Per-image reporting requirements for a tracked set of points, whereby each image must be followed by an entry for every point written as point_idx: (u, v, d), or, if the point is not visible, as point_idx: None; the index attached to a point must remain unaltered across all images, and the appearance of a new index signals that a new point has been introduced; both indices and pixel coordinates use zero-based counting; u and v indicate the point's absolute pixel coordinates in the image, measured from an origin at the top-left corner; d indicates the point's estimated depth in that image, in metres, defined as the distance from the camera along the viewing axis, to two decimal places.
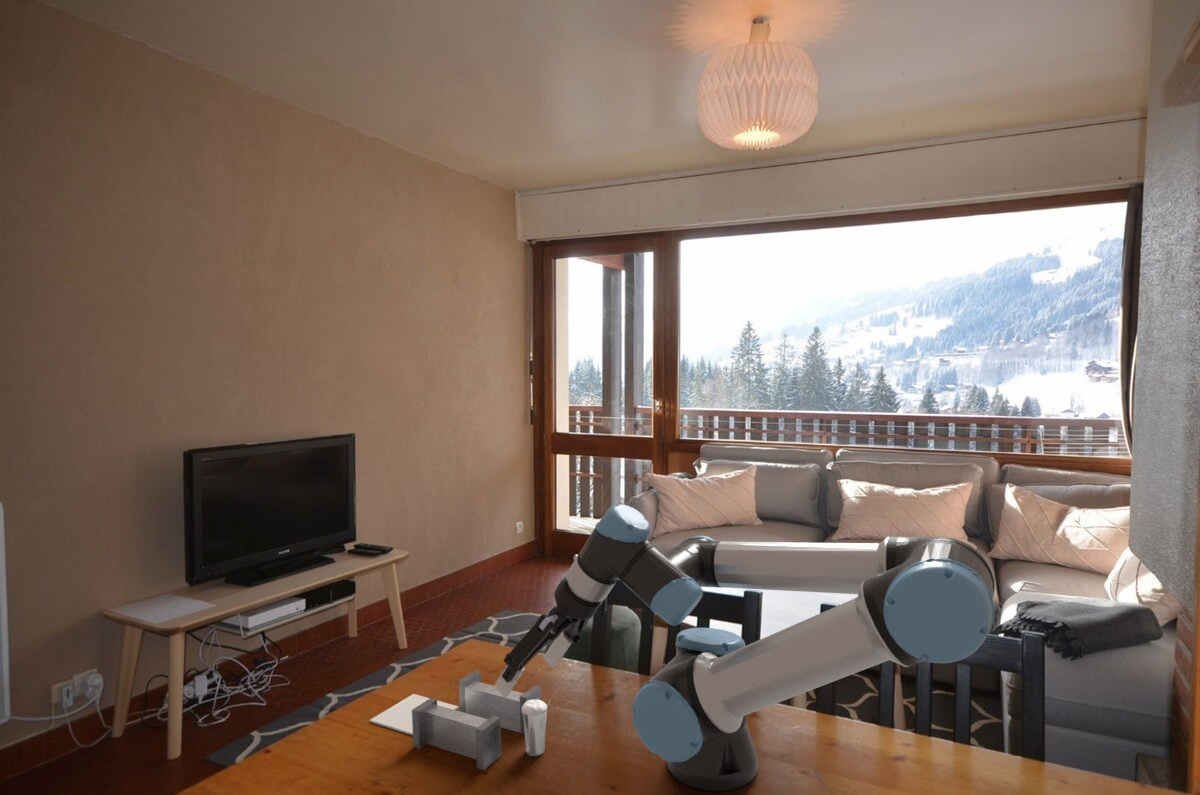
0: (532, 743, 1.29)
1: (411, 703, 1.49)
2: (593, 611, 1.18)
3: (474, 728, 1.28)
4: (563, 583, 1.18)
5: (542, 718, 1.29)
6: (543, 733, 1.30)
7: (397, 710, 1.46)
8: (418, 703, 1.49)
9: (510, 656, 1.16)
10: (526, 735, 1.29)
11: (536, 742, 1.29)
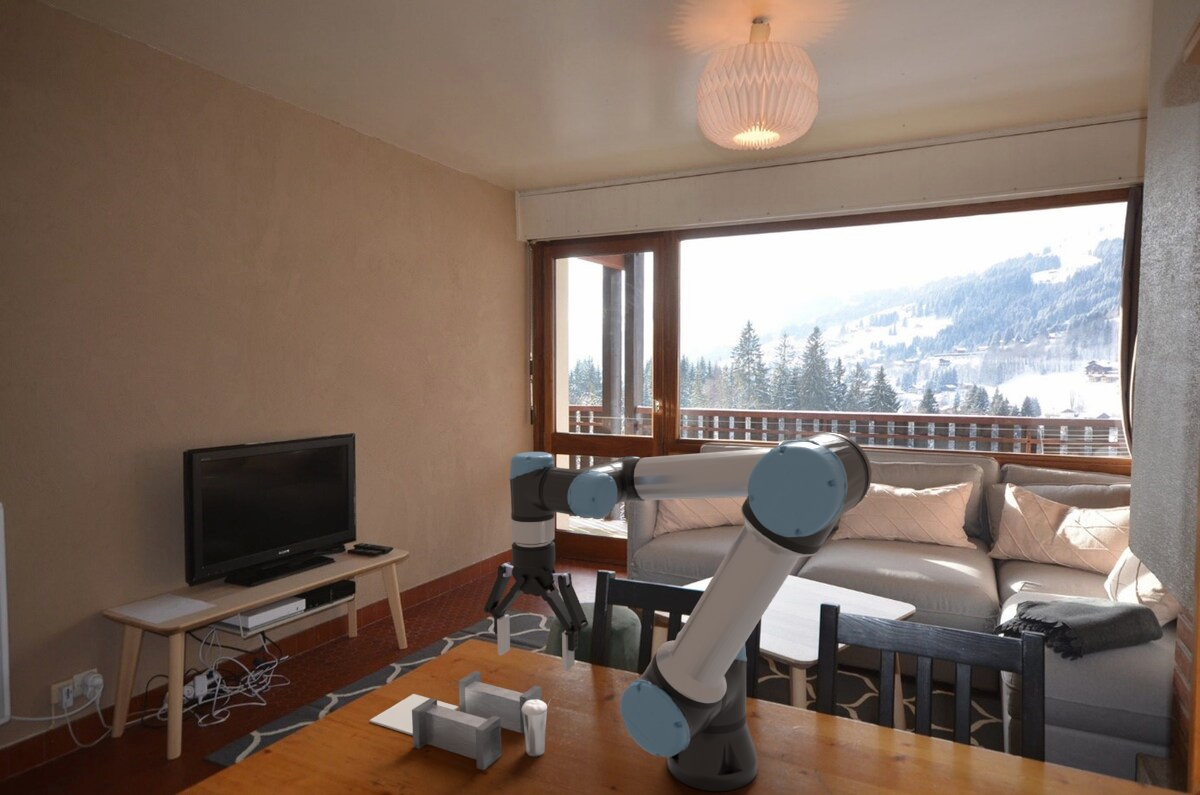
0: (532, 743, 1.29)
1: (411, 703, 1.49)
2: (518, 556, 1.25)
3: (474, 728, 1.28)
4: None
5: (542, 718, 1.29)
6: (543, 733, 1.30)
7: (397, 710, 1.46)
8: (418, 703, 1.49)
9: None
10: (526, 735, 1.29)
11: (536, 742, 1.29)
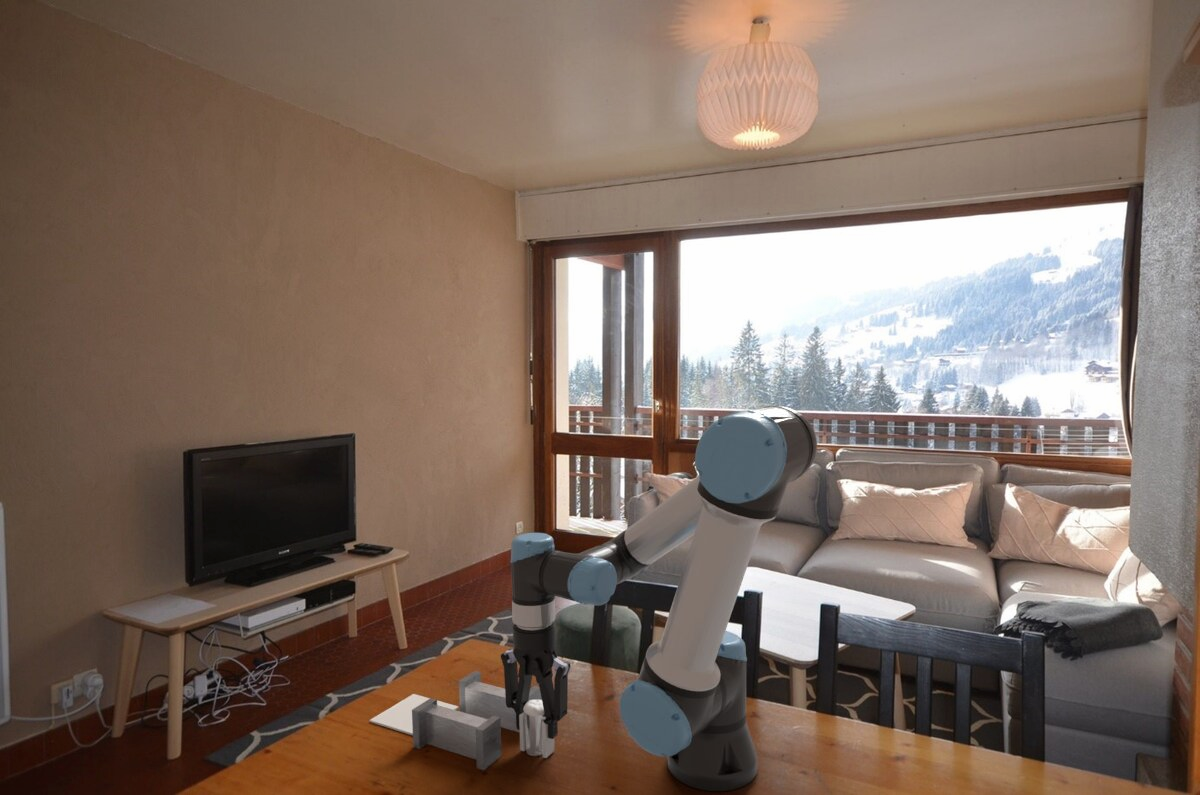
0: (533, 743, 1.29)
1: (411, 703, 1.49)
2: (519, 638, 1.26)
3: (474, 728, 1.28)
4: None
5: (544, 719, 1.29)
6: None
7: (397, 710, 1.46)
8: (418, 703, 1.49)
9: (512, 695, 1.33)
10: (527, 735, 1.29)
11: (537, 742, 1.29)
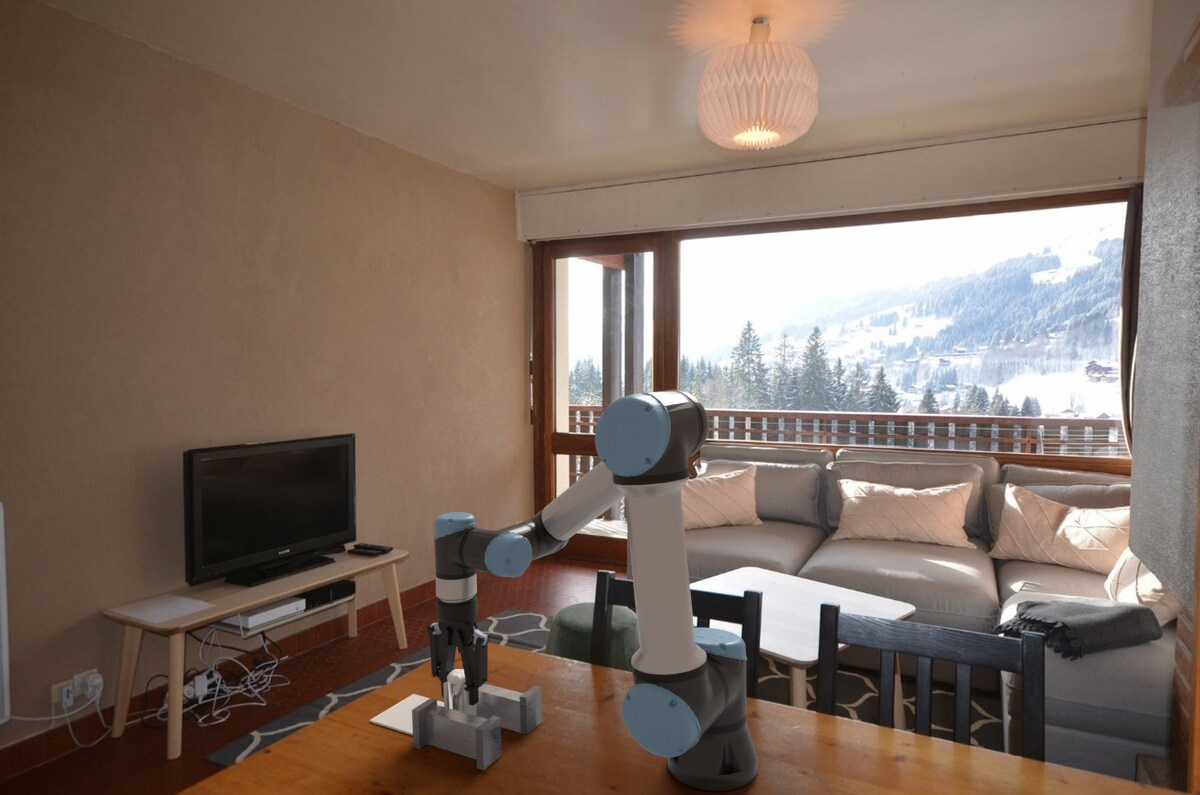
0: (455, 709, 1.37)
1: (411, 703, 1.49)
2: (441, 610, 1.34)
3: (474, 728, 1.28)
4: None
5: (465, 686, 1.37)
6: None
7: (397, 710, 1.46)
8: (418, 703, 1.49)
9: (438, 665, 1.42)
10: (450, 702, 1.37)
11: (459, 709, 1.37)
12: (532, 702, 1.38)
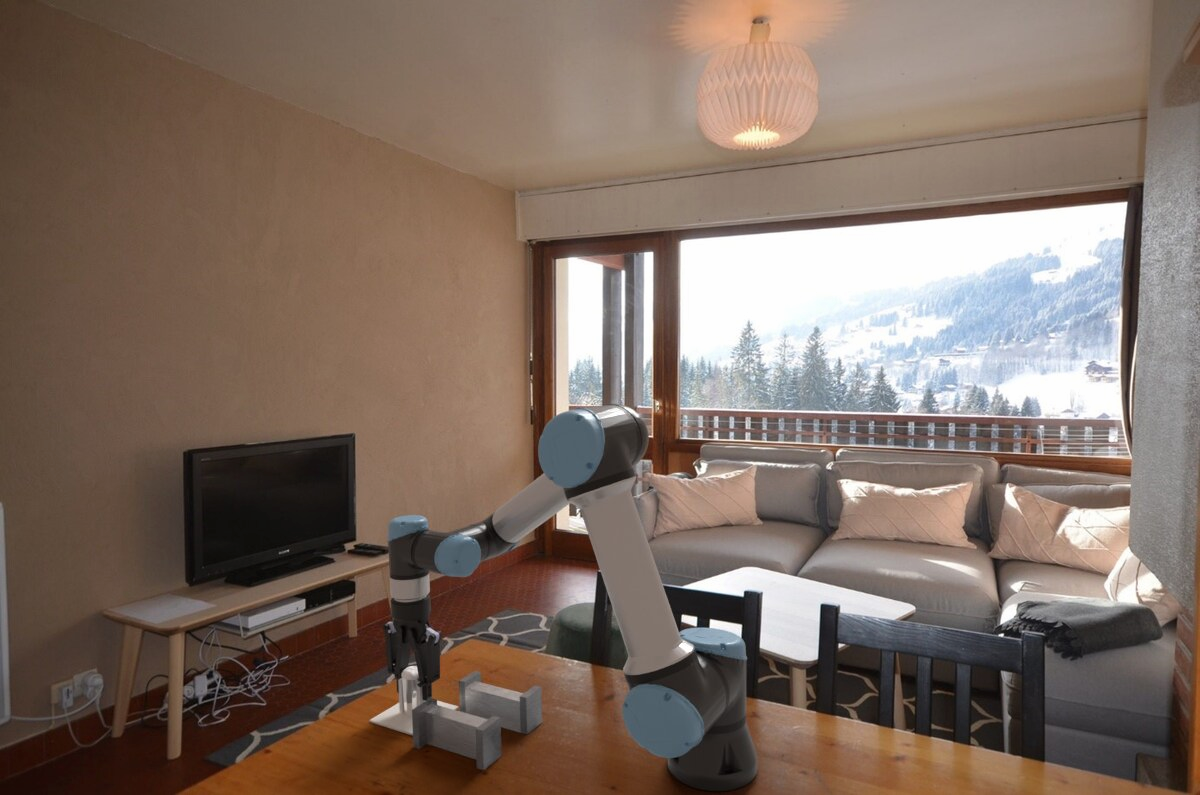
0: (409, 704, 1.43)
1: None
2: (394, 610, 1.40)
3: (474, 728, 1.28)
4: None
5: (419, 682, 1.42)
6: None
7: (397, 710, 1.46)
8: None
9: (394, 662, 1.47)
10: (404, 697, 1.43)
11: (413, 704, 1.43)
12: (532, 702, 1.38)
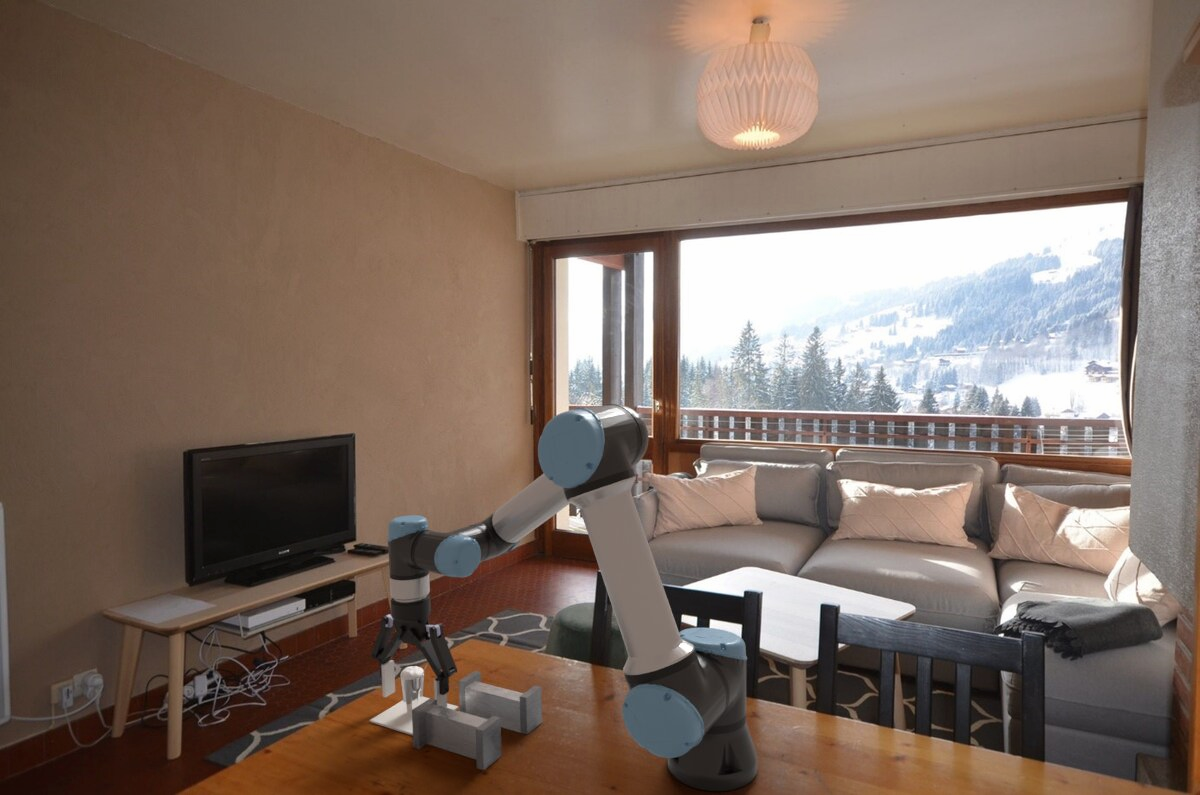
0: (409, 705, 1.43)
1: None
2: (394, 610, 1.40)
3: (474, 728, 1.28)
4: None
5: (418, 682, 1.43)
6: (419, 696, 1.43)
7: (397, 710, 1.46)
8: None
9: None
10: (404, 698, 1.43)
11: (413, 704, 1.43)
12: (532, 702, 1.38)
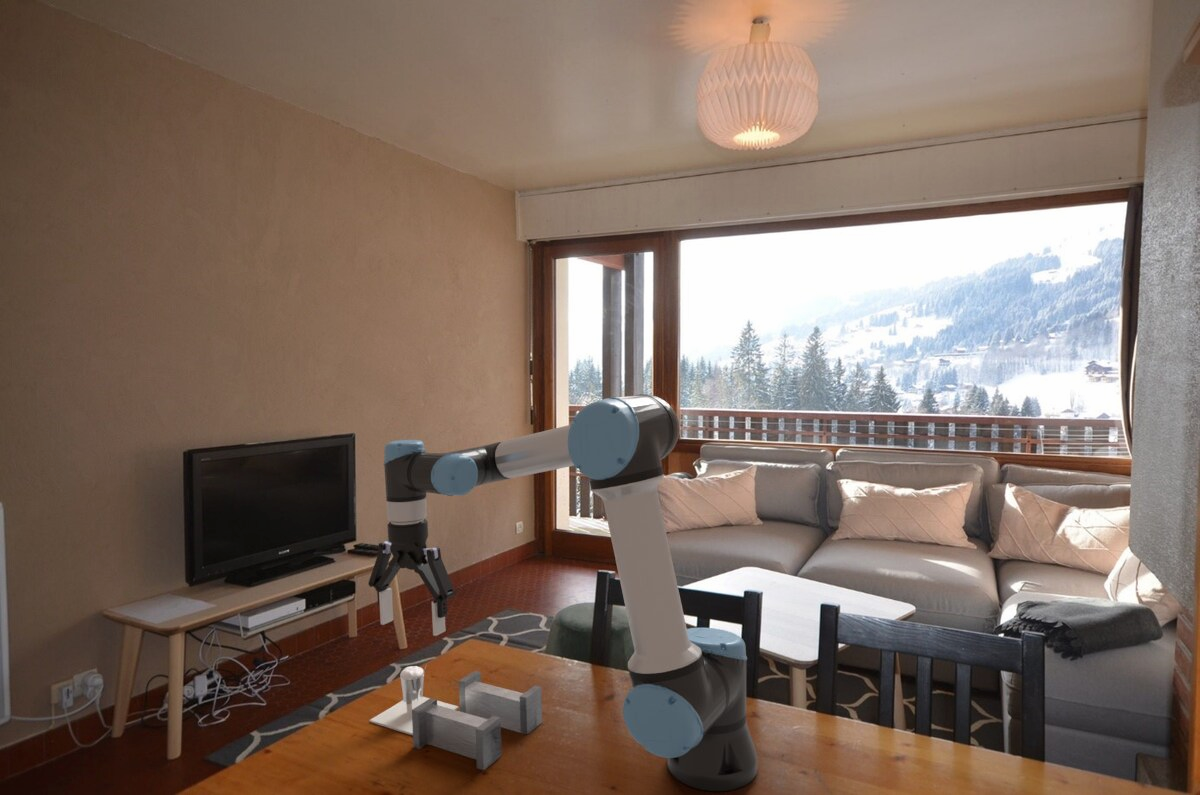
0: (409, 705, 1.43)
1: None
2: (391, 533, 1.39)
3: (474, 728, 1.28)
4: None
5: (418, 682, 1.43)
6: (419, 696, 1.43)
7: (397, 710, 1.46)
8: None
9: None
10: (404, 698, 1.43)
11: (413, 704, 1.43)
12: (532, 702, 1.38)
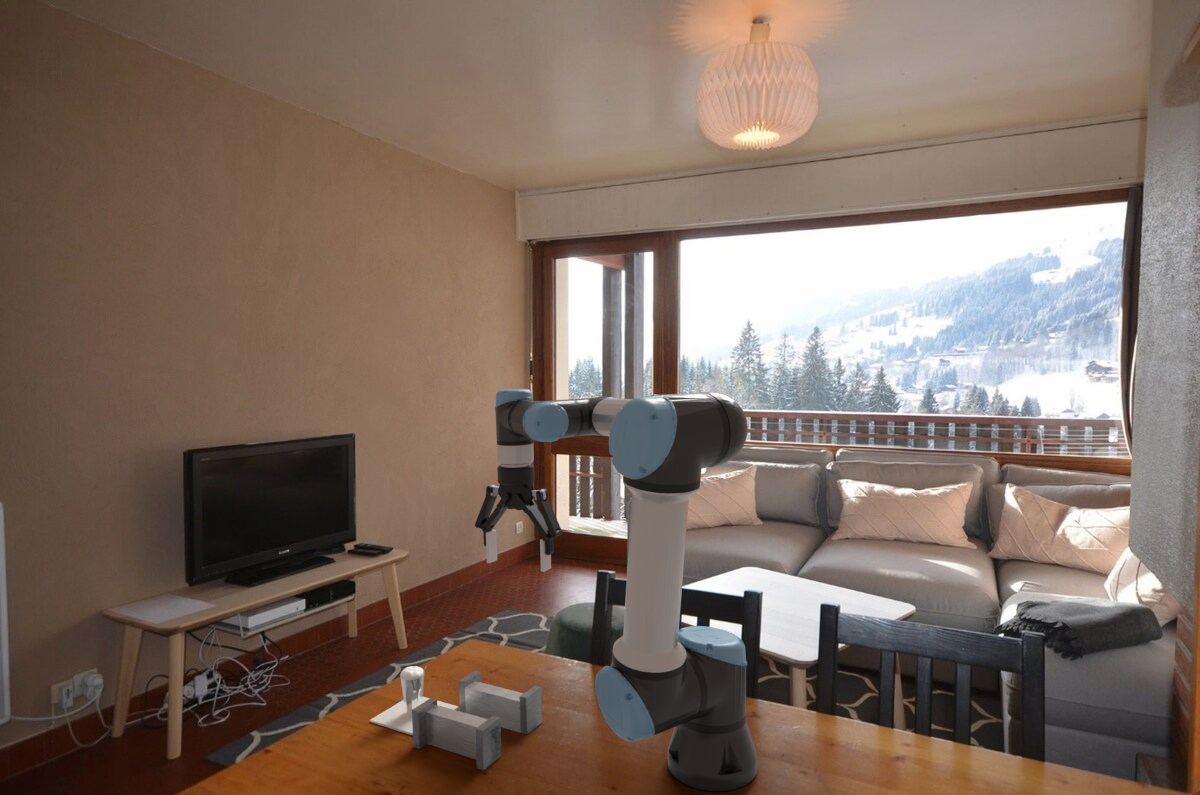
0: (409, 705, 1.43)
1: None
2: (502, 475, 1.48)
3: (474, 728, 1.28)
4: None
5: (418, 682, 1.43)
6: (419, 696, 1.43)
7: (397, 710, 1.46)
8: None
9: None
10: (404, 698, 1.43)
11: (413, 704, 1.43)
12: (532, 702, 1.38)
